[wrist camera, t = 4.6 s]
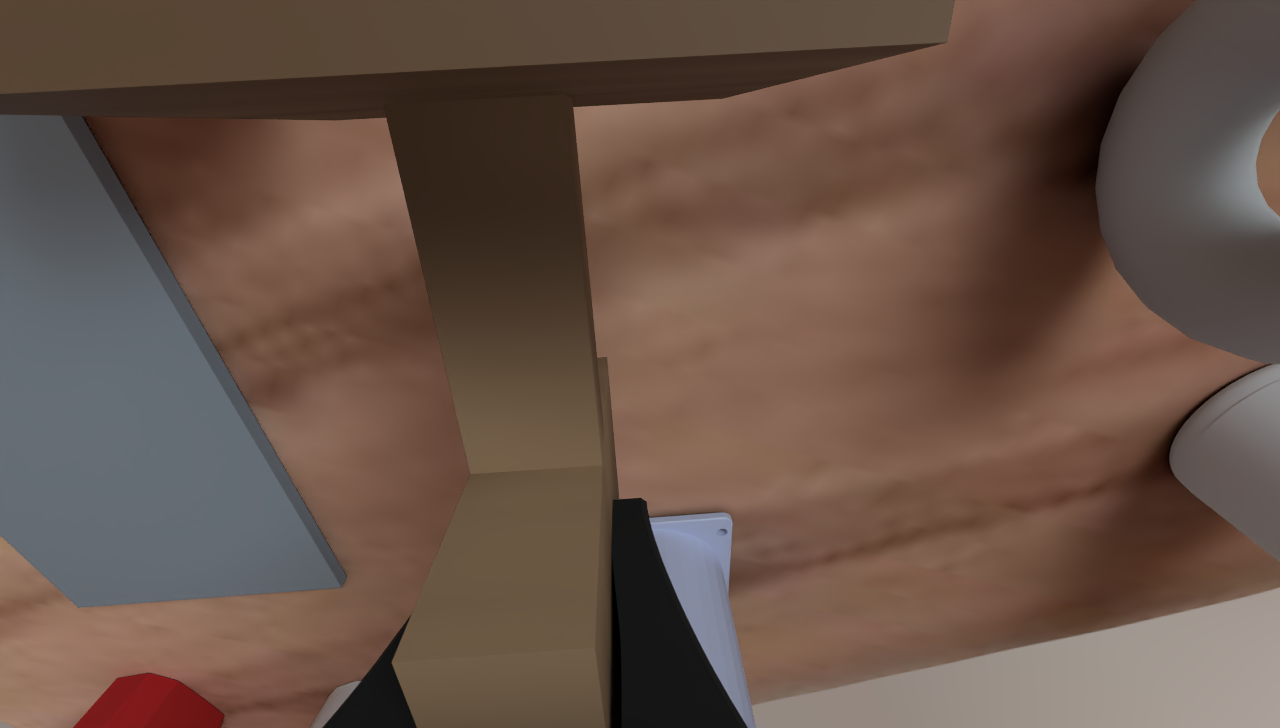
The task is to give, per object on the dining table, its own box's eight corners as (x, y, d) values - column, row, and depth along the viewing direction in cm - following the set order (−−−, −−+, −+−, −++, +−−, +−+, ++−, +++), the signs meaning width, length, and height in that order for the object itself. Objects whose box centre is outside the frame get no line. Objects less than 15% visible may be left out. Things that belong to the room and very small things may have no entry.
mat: (346, 577, 26) (341, 587, 26) (88, 596, 26) (78, 607, 25) (-44, -103, 12) (-73, -109, 12) (-604, -70, 12) (-659, -75, 12)
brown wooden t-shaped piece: (715, 551, 14) (797, 904, 8) (458, 569, 14) (326, 942, 8) (723, 47, 9) (979, -141, 3) (321, 69, 9) (-417, -70, 3)
